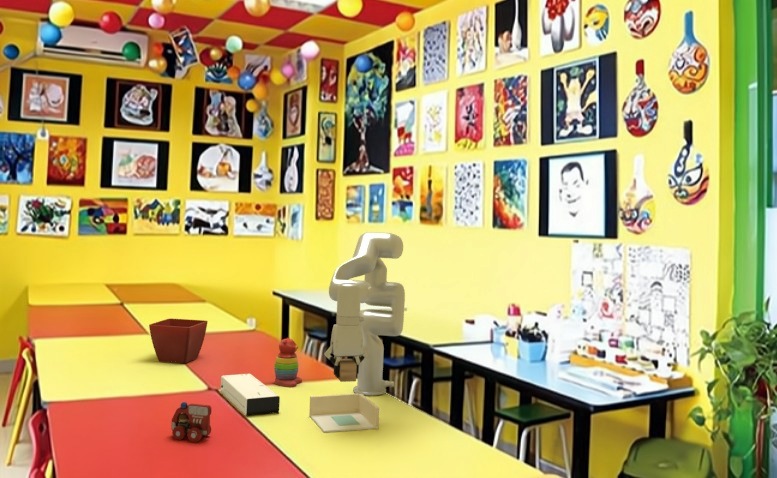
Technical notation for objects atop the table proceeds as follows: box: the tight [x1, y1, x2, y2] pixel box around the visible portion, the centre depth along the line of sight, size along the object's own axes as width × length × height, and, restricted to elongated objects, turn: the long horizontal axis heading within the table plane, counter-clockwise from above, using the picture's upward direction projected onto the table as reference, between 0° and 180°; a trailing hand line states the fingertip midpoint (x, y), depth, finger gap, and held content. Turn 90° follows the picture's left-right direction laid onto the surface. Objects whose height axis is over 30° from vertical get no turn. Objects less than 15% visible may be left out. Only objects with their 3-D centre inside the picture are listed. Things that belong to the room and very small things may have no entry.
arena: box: [309, 393, 380, 434], centre depth 220 cm, size 18×18×7 cm
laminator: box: [220, 373, 281, 417], centre depth 239 cm, size 34×12×6 cm, turn 28°
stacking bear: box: [273, 337, 303, 388], centre depth 266 cm, size 11×10×18 cm
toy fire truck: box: [171, 401, 212, 443], centre depth 199 cm, size 7×12×10 cm, turn 74°
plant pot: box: [148, 318, 208, 364], centre depth 299 cm, size 19×19×17 cm
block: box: [337, 358, 357, 383], centre depth 219 cm, size 8×5×6 cm, turn 15°
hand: (346, 375), depth 219 cm, fingers closed on block, 5 cm apart
